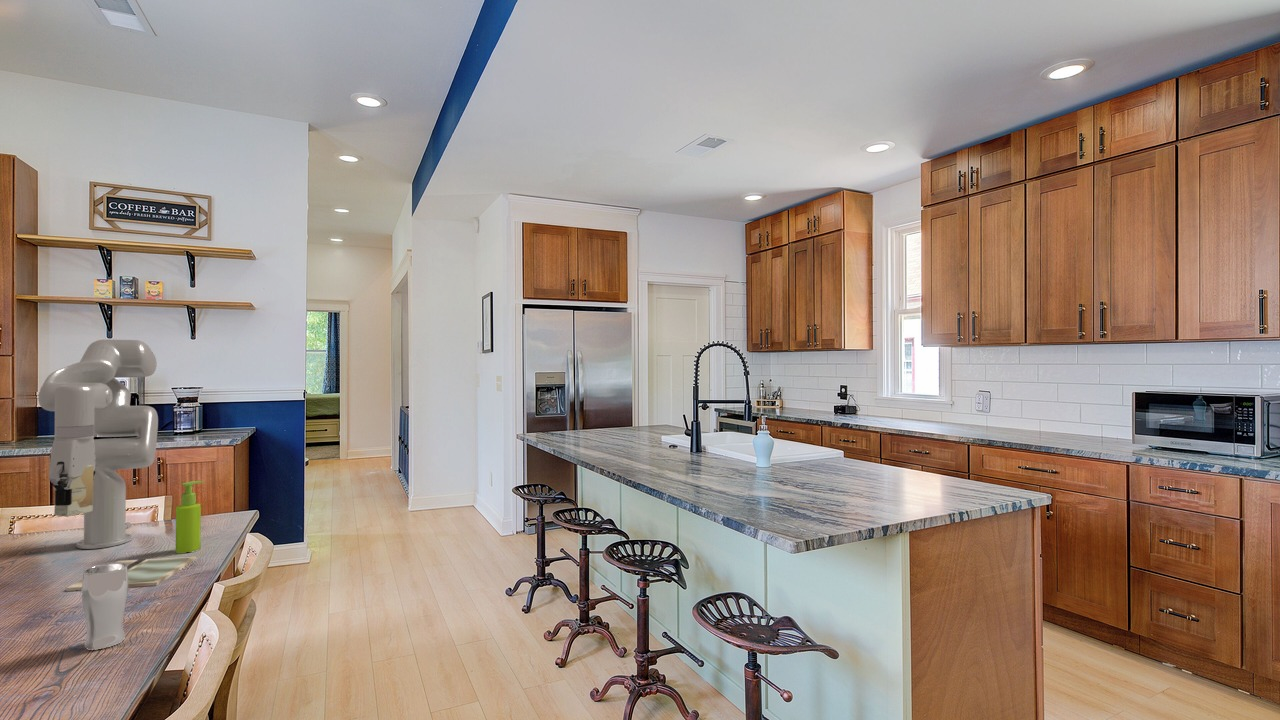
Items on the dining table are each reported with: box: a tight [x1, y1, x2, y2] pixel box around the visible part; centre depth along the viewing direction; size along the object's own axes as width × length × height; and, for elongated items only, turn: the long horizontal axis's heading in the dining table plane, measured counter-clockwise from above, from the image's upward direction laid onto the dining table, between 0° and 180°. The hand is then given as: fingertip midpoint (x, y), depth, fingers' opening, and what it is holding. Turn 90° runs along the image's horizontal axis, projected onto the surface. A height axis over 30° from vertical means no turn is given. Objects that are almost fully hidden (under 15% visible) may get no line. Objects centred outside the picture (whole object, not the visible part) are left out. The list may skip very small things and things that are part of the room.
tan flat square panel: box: [65, 556, 197, 592], centre depth 159 cm, size 20×19×1 cm
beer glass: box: [81, 562, 129, 649], centre depth 120 cm, size 7×7×15 cm
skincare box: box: [53, 465, 94, 518], centre depth 157 cm, size 6×4×12 cm
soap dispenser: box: [175, 480, 205, 554], centre depth 179 cm, size 6×7×20 cm
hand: (74, 500), depth 157 cm, fingers closed on skincare box, 7 cm apart
